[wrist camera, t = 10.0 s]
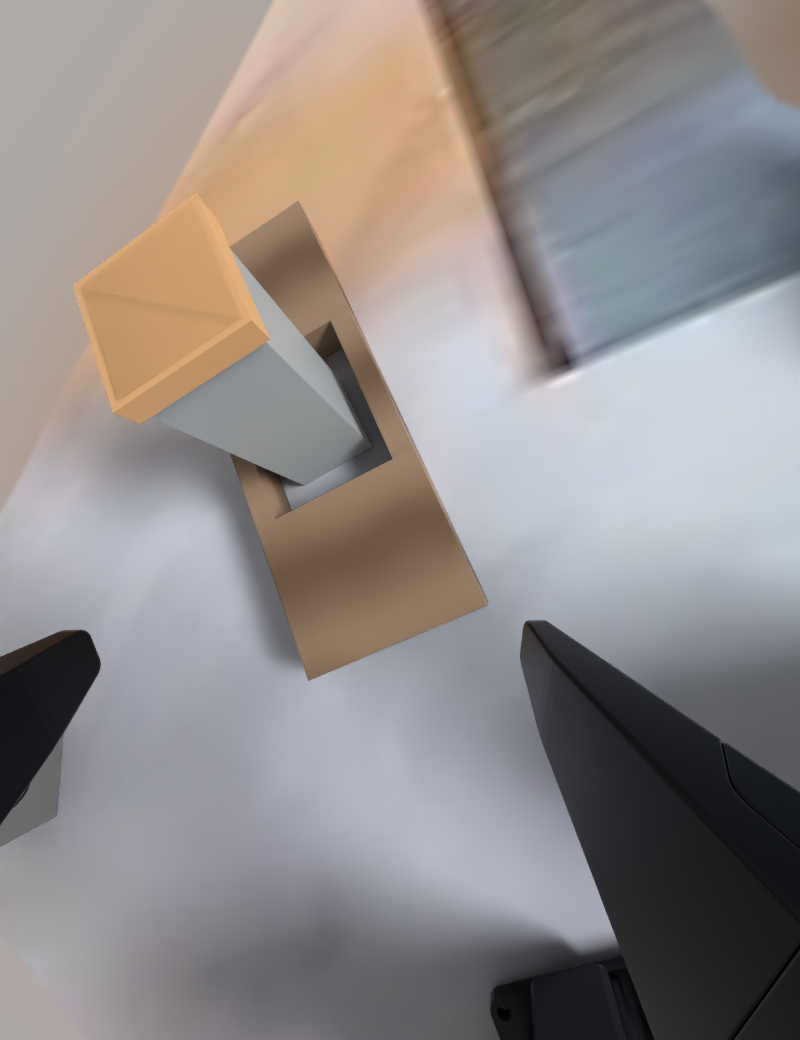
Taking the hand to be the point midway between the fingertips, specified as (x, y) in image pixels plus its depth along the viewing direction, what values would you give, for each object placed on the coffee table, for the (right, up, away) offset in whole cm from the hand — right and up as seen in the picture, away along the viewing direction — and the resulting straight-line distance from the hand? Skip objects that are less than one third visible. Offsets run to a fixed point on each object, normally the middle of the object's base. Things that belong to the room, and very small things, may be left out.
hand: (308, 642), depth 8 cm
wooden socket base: (-2, +7, +12) cm, 14 cm away
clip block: (-2, +7, +12) cm, 14 cm away
